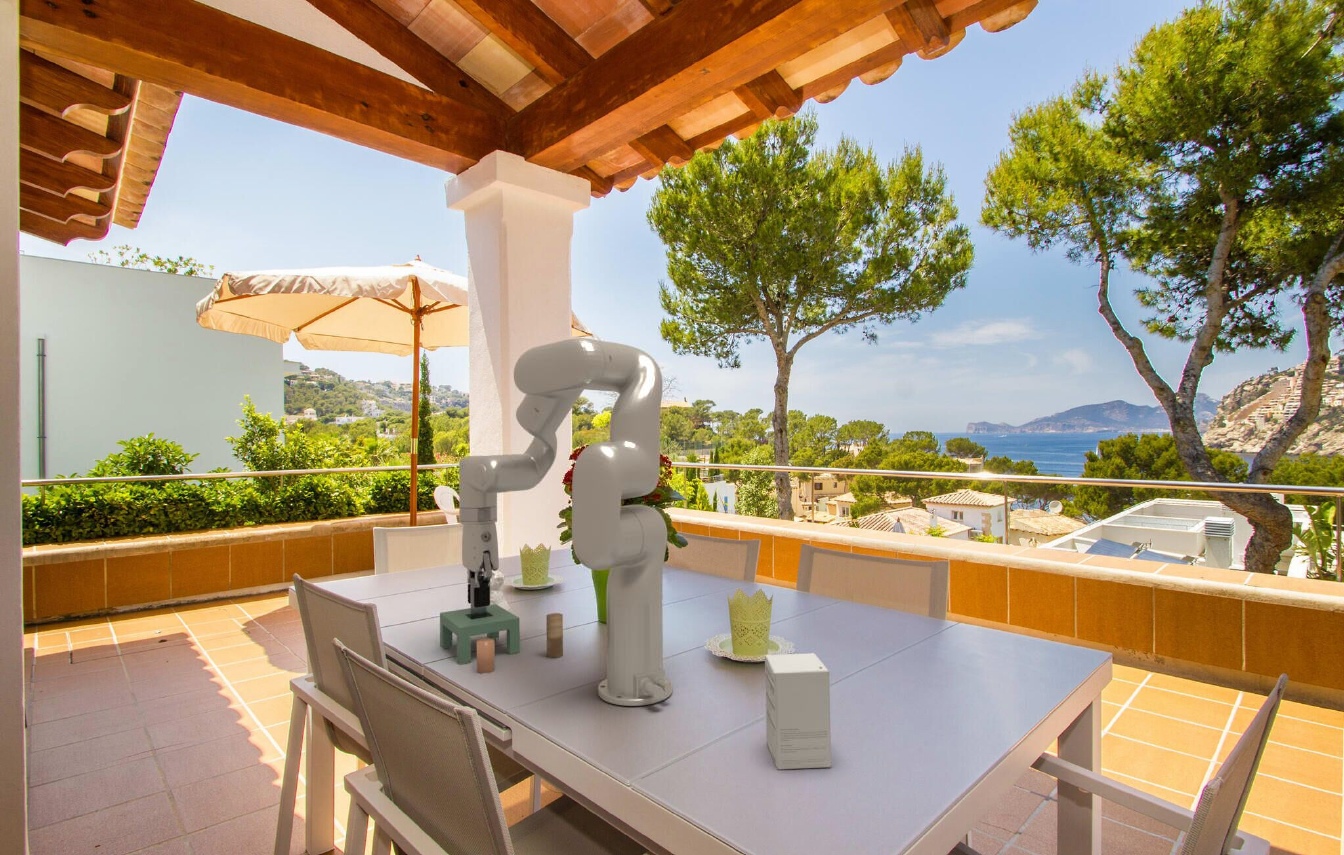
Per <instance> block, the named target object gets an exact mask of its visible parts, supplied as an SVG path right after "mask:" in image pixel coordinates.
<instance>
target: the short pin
mask: <svg viewBox="0 0 1344 855" xmlns="http://www.w3.org/2000/svg"><path fill="white" fill-rule="evenodd" d="M495 648H496V647H495V639H492V638H487V637H484V638H481V639H478V640H477V641H476V672H477V673H479V674H490V673H492V672H494V671H495V670H496V669H495V667H496V666H495V662H496V660H495V658H496V657H495V654H496V651H495Z"/></svg>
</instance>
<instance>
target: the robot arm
mask: <svg viewBox="0 0 1344 855" xmlns="http://www.w3.org/2000/svg"><path fill="white" fill-rule="evenodd" d="M660 369H661V368H660V366H659V365H658V363H657V362H656V359H654V358H653V357H652V356H651V355H650V354H648V352H646V351H644V350H642V349H640V348H638V347H634V346H631V345H628V344H627V345H626V344H624V343H618V342H617V343H616V342H612V341H604V340H598V339H591V338H585V337H575V338H567V339H564V340H563V339H562V340H560V341H556V342H550V343H547V344H542V345H537V346H534V347H532V348H530V349H528V350H525V352H523V353H522V355H520V356H519V358H518V359H517V361H516V363H515V366H514V369H513V381H514V384H515V387H516V388H517V389H518V390H519V391H520V392H521V393H523V394H525V396H524V397H523V399H522V400H521V402H520V404H519V406H517V409H516V411H515V416H516V421H517V422H518V424H519V425H520V426H521V427H522V428H523V430H525V431H526V432H527V433H528V434H530V435H532V436H533V439H532V440H531V443H530V444H529V446H528V447H527V448H526V450H525V451H524V453H521V454H517V453H516V454H515V453H514V454H496V455H495V454H494V455H492V454H491V455H469V456H464V457H462V458H461V459H460V460H459V465H458V468H459V469H458V470H459V471H458V475H459V476H458V480H459V482H458V486H459V487H458V488H459V489H458V492H459V498H458V500H459V501H458V502H459V503H458V505H459V508H458V509H459V510H458V511H459V513H458V514H459V515H458V516H459V517H458V518H459V523H458V524H460V525H462V536H461V537H462V539H461V561H462V566H463V567H464V568H466V571H467V577H466V578H467V603H468V604H470V605H471V578H472V577H475V586H476V587H475V588H474V607H476V608H477V607H484V606H489V605H490V579H491V577H492V570H493V571H497V570H498V571H499V567H500V561H499V560H500V559H499V557H500V556H499V542H498V530H497V525H496V523H497V522H498V494H499V493H509V492H519V491H529V490H531V489H533V488H535V487H537V485H539V484H540V483H541V482H542V481H543V479H544V478H545V476H546V475H547V474H548V472H549V471H550V470H551V468H552V467H553V464H554V463H555V461H556V458H557V452H558V437H557V434H556V432H557V430H558V429H559V428H560V426H561V425H562V423H563V421H565V418H566V417H567V416H568V414H569V412H571V409H572V408H573V407H574V405H575V404H576V402H577V401H578V399H579V398H580V396H581V395H582V393H583V392H584V390H587V391H600V392H613V393H618V394H619V396H618V397H617V399H616V401H615V402H614V404H613V407H612V409H611V415H610V419H609V420H610V422H609V425H610V428H609V429H610V430H609V441H600V442H595V443H591V444H590V445H588V446H586V447H585V448H584V449H583V450H582V451H581V452H580V454H579V455H578V456H577V459H575V464H574V467H573V471H572V480H571V481H572V482H571V488H572V489H571V496H572V497H571V539H572V540H571V542H572V546H573V550H574V554H575V556H576V558H577V559H578V561H579V563H581V564H582V565H583V566H584V567H586V568H587V569H589V570H592V571H593V570H594V571H603V570H609V569H610V571H609V573H608V577H607V583H606V603H605V606H606V678H605V679H603V680H602V681H601V682H599V684H598V686H597V694H598V696H599V698H601V699H602V700H603V701H605V702H606V703H610V704H614V705H618V706H627V707H628V706H629V707H636V706H637V707H639V706H640V707H641V706H647V705H648V706H649V705H652V704H656V703H659V702H662V701H664V700H666V699H667V698H669V697H670V696H671V695H672V693H673V683H672V681H671V680H670V679H669V678H667V677H666V670H665V669H664V651H663V650H664V638H663V637H664V632H663V631H664V629H663V628H664V626H663V625H664V624H663V597H664V596H663V578H664V577H663V574H664V565H665V564H664V562H665V558H666V551H667V544H668V529H667V523H666V521H665V519H664V517H663V516H662V514H661V513H660V512H659V511H658V510H656V508H654V507H651V506H650V505H649V506H648V505H645V504H629V505H622V500H625V499H631V498H638V497H639V498H640V497H642V496H647V495H649V494H651V493H652V492H653V491H654V490H655V489H656V488H657V485H658V483H659V480H660V471H661V470H660V467H661V456H660V455H661V409H662V408H661V407H662V406H661V405H662V397H663V376H662V373H661V372H662V371H661V370H660ZM479 576H481V577H480V579H479Z"/></svg>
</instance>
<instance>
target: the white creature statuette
mask: <svg viewBox="0 0 1344 855" xmlns="http://www.w3.org/2000/svg"><path fill="white" fill-rule="evenodd" d="M504 581H505V575H504V573H502V571H499V569H498V570H497V571H493V570H492V577H491V579H490V605H493V604H496V605H498V606H500V607H501V608H503V609H505V610H507V611H508V612H510V613H511V607H510V605H509V603H508V601H507V600H506V598H505V596H504V593H503V590H502V586H503V585H504Z"/></svg>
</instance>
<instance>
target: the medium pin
mask: <svg viewBox="0 0 1344 855" xmlns="http://www.w3.org/2000/svg"><path fill="white" fill-rule="evenodd" d="M563 616H564V615H563V613H559V612H555V613H554V612H553V613H548V614H547V615H546V617H545V618H546V622H545V624H546V657H547V658H548V659H558V658H559V659H560V658H562V657H563V656H564V631H563V630H564V629H563V628H564V627H563V626H564V625H563V624H564V620H563V618H564V617H563Z"/></svg>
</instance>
